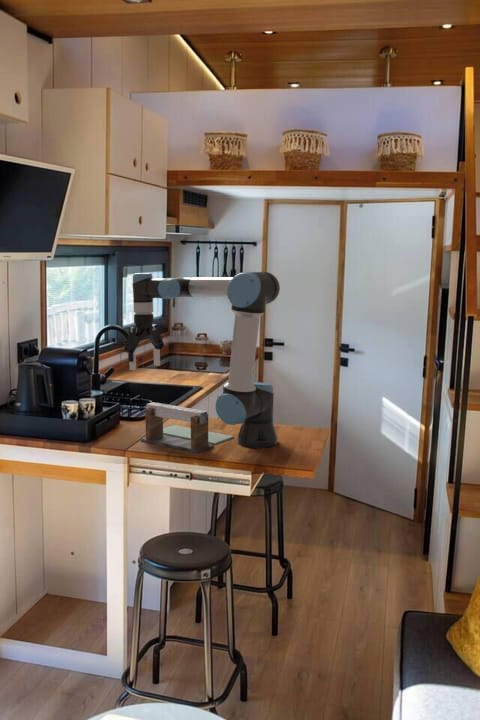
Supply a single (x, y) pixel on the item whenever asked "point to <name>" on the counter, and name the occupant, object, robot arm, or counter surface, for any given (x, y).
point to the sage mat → (186, 433)
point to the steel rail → (177, 412)
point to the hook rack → (194, 445)
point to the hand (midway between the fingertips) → (145, 367)
